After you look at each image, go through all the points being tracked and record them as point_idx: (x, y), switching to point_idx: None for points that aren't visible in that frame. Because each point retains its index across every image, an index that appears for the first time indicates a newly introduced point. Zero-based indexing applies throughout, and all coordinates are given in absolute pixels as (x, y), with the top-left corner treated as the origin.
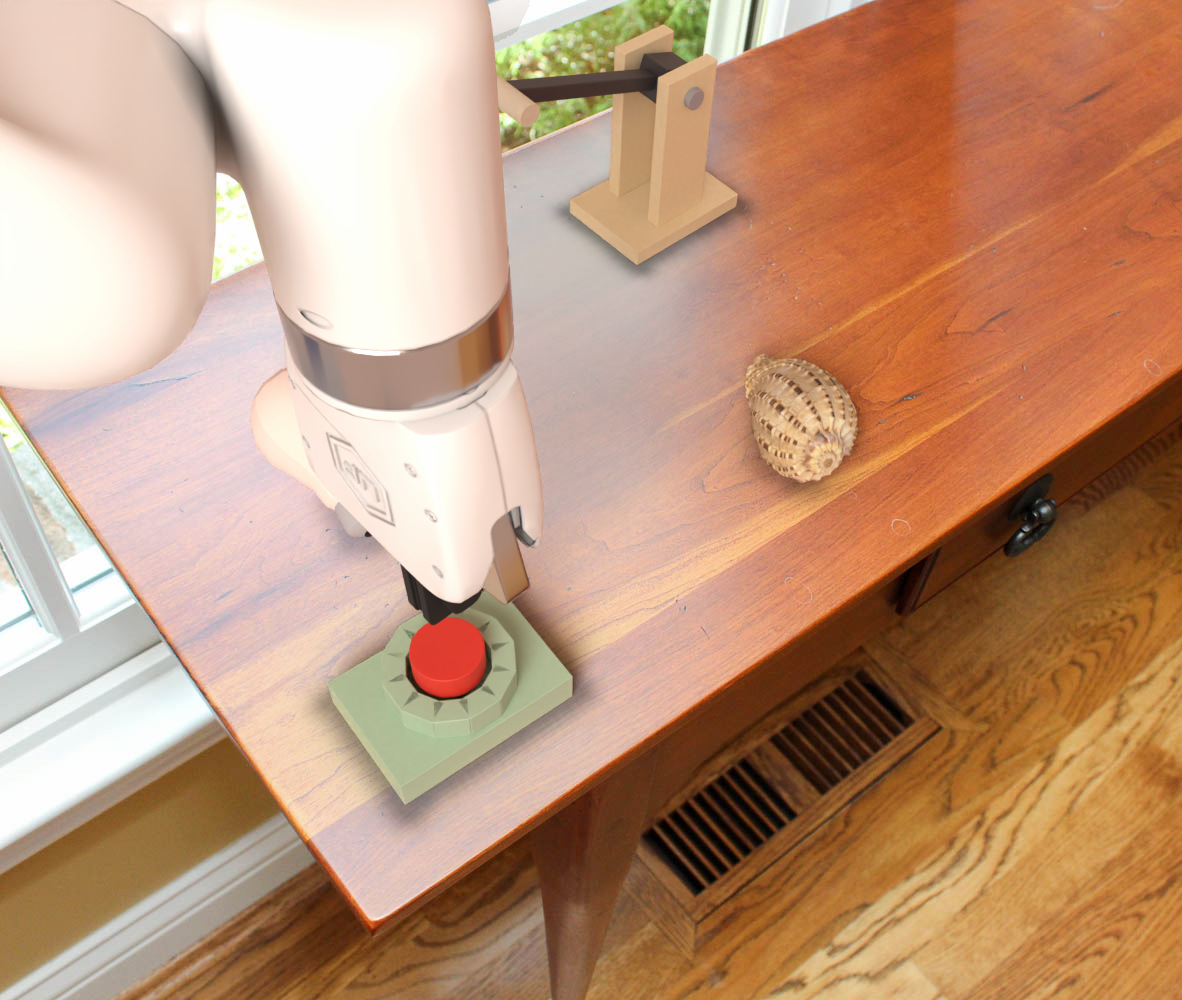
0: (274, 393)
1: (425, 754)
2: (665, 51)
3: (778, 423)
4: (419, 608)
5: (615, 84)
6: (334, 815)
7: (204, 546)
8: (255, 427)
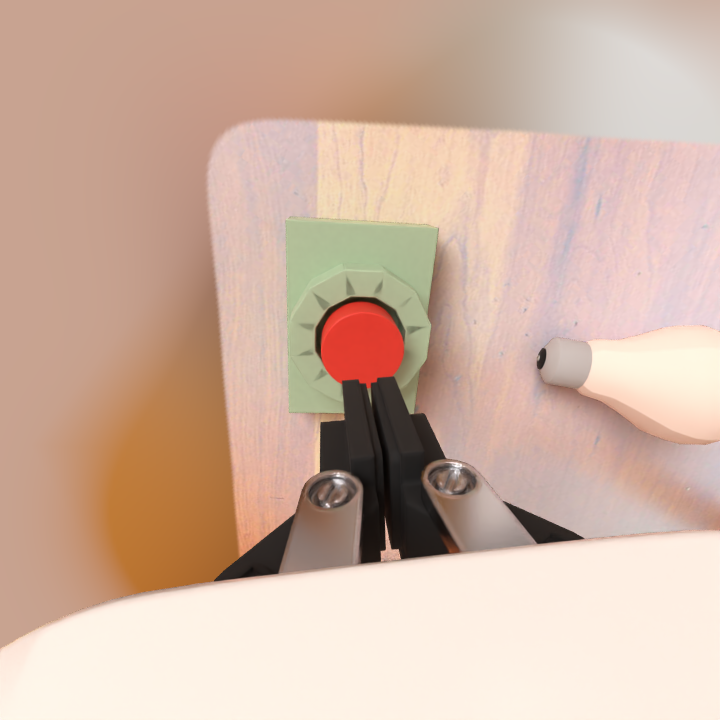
0: None
1: (303, 261)
2: None
3: None
4: (374, 383)
5: None
6: (323, 152)
7: (655, 221)
8: None
